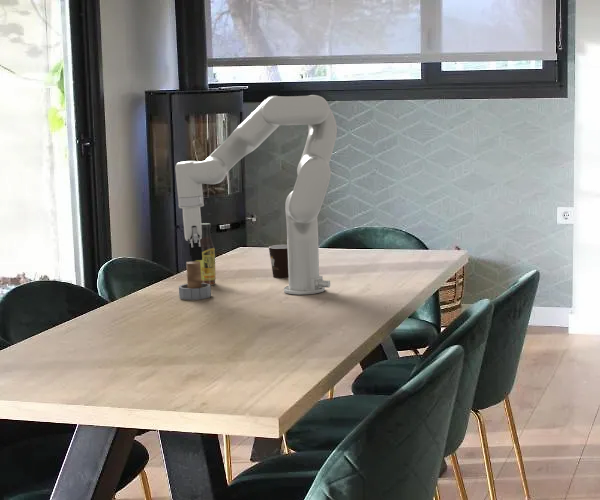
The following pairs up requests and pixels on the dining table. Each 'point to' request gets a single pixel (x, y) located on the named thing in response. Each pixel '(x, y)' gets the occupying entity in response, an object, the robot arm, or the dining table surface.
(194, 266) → the brown cylinder
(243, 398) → the dining table surface
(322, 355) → the dining table surface
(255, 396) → the dining table surface
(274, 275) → the coffee mug
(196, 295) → the grey faceted dish
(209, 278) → the sauce bottle
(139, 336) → the dining table surface
